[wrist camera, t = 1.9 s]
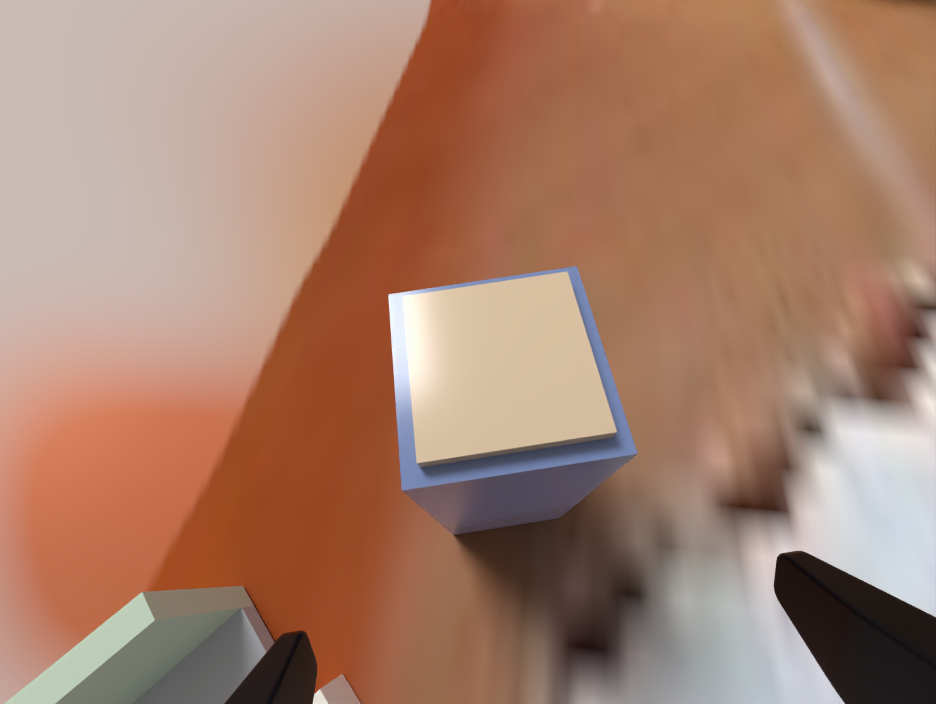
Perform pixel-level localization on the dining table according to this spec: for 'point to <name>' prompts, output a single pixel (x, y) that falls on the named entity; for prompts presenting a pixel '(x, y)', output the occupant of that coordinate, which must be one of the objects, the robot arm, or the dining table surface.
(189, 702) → the tray
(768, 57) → the dining table surface
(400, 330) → the blue beige tall block
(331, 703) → the beige low rectangular frame
